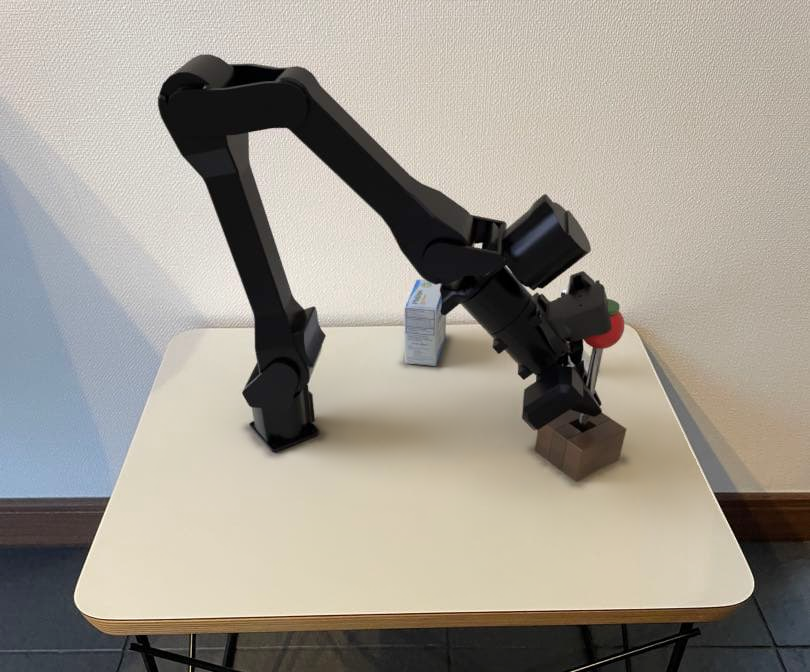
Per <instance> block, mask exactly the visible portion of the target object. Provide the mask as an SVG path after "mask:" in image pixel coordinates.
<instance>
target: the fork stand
mask: <svg viewBox="0 0 810 672" xmlns="http://www.w3.org/2000/svg"><path fill="white" fill-rule="evenodd" d="M579 415H580V413H579V412H576V411H573V410H569V411H567V412H565V413H564V414H562V415H561V416H559V417H558V418H556V419H555V420H553V421H551V422H550V423H548V424H547V425H545V426H544V427H542V428H540V429H539V430H537V432H536V440H535V445H534V452H536V453H537V454H538V455H540V456H541V457H542V458H544V459H545V460H546V461H548V462H549V463H550V464H552V466H554V467H555V468H557V469H558V470H560V471H561V472H562V473H563V474H565V475H566V476H567V477H568V478H570V479H571V480H573V481H574V482H576V483H577V482H578V481H580V480H582V479H584V478H586V477H588V476H590V475H592V474H595V472H598V471H600V470H602V469H604V468H606V467H607V466H609V465H611V464H613V463H615V462H618V461H619V460H620V457H621V453H622V449H623V445H624V443H625V442H624V441H625V437H626V434H627V428H626V427H624V426H623V425H621V424H620V423H619V422H617V421H616V420H614V418H613V419H612V418H611V417H610V416H608V415H607V414H605V413H603V412H602V413H601V414H599V415H597V416H596V417H592V416H589V421H588V426H587V430H586V431H585V432H583V433H582V432H581V431H579V430H578V429H577V426H578V420H579Z"/></svg>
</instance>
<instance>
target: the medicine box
mask: <svg viewBox="0 0 810 672" xmlns="http://www.w3.org/2000/svg"><path fill="white" fill-rule="evenodd" d="M440 286H441V284H437V285H435V284H432V283H430V282H428V281H426V280H425V279H416V280H415V282H414V285H413V288H412V290H411V292H410V294H409V296H408V299H407V301H406V303H405V306H404V307H403V308H404V311H403V315H404V316H403V317H404V318H403V323H404V325H403V326H404V360H405V361H404V362H405V363H406V364H410V365H419V366H429V367H430V366H431V367H436V366H437V365H438V362H439V359H440V355H441V352H442V349H443V346H444V343H445V340H446V333H447V332H446V331H447V315H442V314H441V313H440V310H441V293H440Z"/></svg>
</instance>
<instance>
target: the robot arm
mask: <svg viewBox="0 0 810 672" xmlns="http://www.w3.org/2000/svg"><path fill="white" fill-rule="evenodd" d="M157 108H158V112H159V116H160V118H161V121H162V123H163V125H164V126H165V128H166V131H167V132H168V133H169V135H170V137H171V139H172V142H174V144H175V146H176V149H177V150H178V152H179V155H181V156H182V158H183V159H184V160H185V161H186V162H187V163H188V164H189V165H190V166H191V167H192V169H193V170H194V171H195V172H196V173H197V174H198V175H199V176H200V177H201V179H202V180H203V183H204V184H205V186H206V189H207V192H208V195H209V198H210V200H211V203H212V205H213V208H214V211H215V214H216V216H217V219H218V222H219V224H220V227H221V231H222V232H223V235H224V238H225V241H226V243H227V246H228V249H229V251H230V254H231V257H232V259H233V263H234V265H235V268H236V270H237V275H238V276H239V279H240V282H241V284H242V287H243V290H244V292H245V295H246V298H247V300H248V303H249V306H250V309H251V311H252V315H253V319H254V321H253V322H254V326H253V327H254V352H255V357H256V364H255V365H254V367H253V370H252V371H251V373H250V375H249V378H248V379H247V381H246V383H245V385H244V388H243V389H242V392H241V394H242V396H243V398H244V399H245V401H246V403H247V405H248V407H249V408H251V411H252V417H253V421H250V422H249V428H250V430H251V431H252V432H253V433H254V434H255V435H256V436H257V437H258V438H259V440H261V442H262V443H263V444H264V445H265V446H266V447H267V448H268V449H269V450H270V451H271V452H272V453H277V452H280V451H282V450H284V449H288V448H290V447H292V446H295V445H297V444H299V443H302V442H304V441H306V440H309V439H311V438H314V437H317V436H318V435H319V434H320V429H319V428H318V427H317V426H316V425H315V421H316V413H315V406H314V405H315V404H314V396H313V395H314V394H313V393H312V392H311V391H310V390H309V383H310V380H311V378H312V376H313V373H314V370H315V368H316V366H317V363H318V360H319V358H320V355H321V353H322V349H323V344H324V341H325V340H326V337H327V335H326V333H324V331H323V329H322V328H321V326H320V323H319V317H318V316H319V315H318V310H317V307H316V306H310V307H307V308H303V306H302V305H301V304H300V303H299V302H298V301H297V300H296V299H295V297H294V295H293V293H292V289H291V287H290V283H289V281H288V278H287V277H288V276H287V274H286V271H285V268H284V265H283V262H282V258H281V256H280V253H279V249H278V247H277V243H276V240H275V238H274V234H273V231H272V227H271V225H270V222H269V218H268V215H267V213H266V210H265V207H264V204H263V201H262V196H261V194H260V191H259V187H258V185H257V182H256V178H255V175H254V172H253V170H252V166H251V162H250V147H249V146H250V133H253V132H259V131H260V132H261V131H265V130H270V129H271V130H272V129H286V130H289V131H290V132H291V133H292V134H293V135H294V136H295V137H296V138H297V139H298V140H299V141H300V142H301V143H303V145H305V147H306V148H308V149H309V150H310V152H312V153H313V154H314V156H316V157H317V158H318V159H319V160H320V161H321V162H323V164H325V165H326V166H327V167H328V168H329V169H330V170H331V171H332V172H333V173H334V174H335V175H336V176H337V177H338V178H339V179H340V180H341V181H342V182H343V183H344V184H346V185H347V187H349V189H351V190H352V191H353V192H354V193H355V194H356V195H357V196H358V197H359V198H360V199H361V200H362V201H363V202H364V203H365V204H366V205H368V206H369V207H370V208H371V209H372V211H374V212H375V213H376V214H377V215H378V216H379V217H380V218H381V219H382V221H384V223H385V225H386V226H387V227H388V228H389V230H390V232H391V234H392V236H393V238H394V240H395V242H396V244H397V246H398V248H399V250H400V251H401V253H402V254H403V255H404V256H405V258H406V259H407V261H408V262H409V263H410V264H411V266H412V267H413V268H414V270H415V271H416V272H417V273H418V275H419V276H420V277H421V278H422V280H426V281H428V282H430V283H432V284H435V285H437V284H441V286H440V293H441V310H440V313H441V314H442V315H446V316H447V315H448V314H449V313H451V312H452V311H453V310H454V309H455V308H457V307H458V306H459V305H461V306H462V307H463V308H464V310H466V312H467V313H468V314H469V315H470V316H471V317H472V318H473V319H474V320H475V321H476V323H478V324H479V325H480V326H481V327H482V328H483V330H485V331H486V332H487V334H488V335H489V336H490V337H491V338H492V339H493V340H492V346H491V347H492V349H493V351H495V352H496V353H497V354H498V355H500V354H501V353H502V352H504V351H505V353H507V354H508V355H509V356H510V358H511V359H512V360H513V361H514V362H515V363H516V364H517V376H519V377H520V378H521V379H522V380H523V381H525V380H526V379H528V378H530V376H532V375H534V376H535V381H534V382H533V383H531V384H530V385H528V386H527V387H525V388H524V389H523V397H522V408H521V420H523V421H524V422H525V424H527V425H528V426H529V428H530V429H532V430H533V431H538V430H539V429H540V428H542V427H544V426H545V425H547V424H548V423H550V422H551V421H553V420H555V419H556V418H558V417H559V416H561V415H562V414H564V413H565V412H567V411H569V410H573V411H576V412H579V413H583V414H586V415H589V416H592V417H596V416H597V415H599V414H601V413H603V409H602V408H601V406H602V401H601V399H600V396H599V395H598V392H597V390H596V389H595V392H594V396H593V394H592V393H591V391H590V390H589V388H588V387H587V385H586V379H587V374H588V372H586V369H585V367H584V360H583V359H582V355H583V350H584V351H585V349H584V338H587V337H590V336H594V335H603V334H605V333H607V332H609V331H610V330H611V329H612V325H611V318H610V315H609V312H608V302H607V299H608V297H607V293H606V288H605V286H604V284H602V283H601V282H600V280H599V279H597V280H594V279H593V278H592V277H591V276H590V275H588V274H587V272H585V271H584V270H582V271H578V272H576V273H573V274H570V276H569V280H568V293H567V294H566V295H565V292H562V293H561V292H560V294H561V295H560V296H559V297H557V298H555V299H554V300H551V301H550V300H549V299H548V298H547V297H546V295H544V293H539V292H538V291H537V292H535V290H537V289H544V288H546V287H547V286H548V285H550V284H551V283H552V282H554V281H555V280H556V279H558V277H560V276H561V275H562V274H564V273H565V272H566V271H568V270H569V269H570V268H571V267H573V266H574V265H575V264H576V263H578V262H579V261H580V260H582V259H583V258H585V257H586V256H587V255H588V254H590V253H591V250H592V248H591V244H590V241H589V239H588V238H589V237H588V236H587V234H586V232H585V231H584V229H583V227H582V226H581V225H580V223H579V221H578V220H577V219H576V217H575V216H574V214H573V213H572V212H571V211H570V210H569V209H567V210H566V209H565V208H564V207H563V206H562V205H561V204H559V203H558V202H555V201H553V200H552V199H551V198H550V196H549V195H548V194H547V193H545V194H542V195H541V196H539V198H537V199H536V201H534V202H533V203H532V204H531V206H530V207H529V208H528V210H526V211H525V212H524V213H523V214H522V215H521V216H520V217H519V218H517V219H516V220H515V221H514V222H512V224H510V225H509V226H508V224H507V222H506V221H505V220H499V219H494V218H489V217H484V216H479V215H474V214H471V213H470V212H469V211H468V210H467V209H466V208H465V207H464V206H461V205H460V204H459V203H457V202H456V201H455V200H453V199H452V198H450V197H449V196H448V195H446V194H445V193H443V192H442V191H440V190H438V189H437V188H436V189H435V188H434V187H431V186H428V185H426V184H424V183H422V182H420V181H419V180H417V179H416V178H414V177H413V176H412V175H411V174H410V173H408V171H407V170H406V169H405V168H404V167H403V166H401V165H400V163H398V162H397V160H396V159H395V158H394V157H392V155H391V154H389V152H388V151H387V150H385V148H384V147H382V145H381V144H379V143H378V142H377V141H376V139H374V138H373V137H372V135H371V134H370V133H369V132H368V131H367V130H365V128H364V127H362V126H361V124H360V123H358V122H357V121H356V120H355V119H354V117H352V115H350V114H349V113H348V111H347V110H346V109H345V108H343V107H342V105H340V103H339V102H338V101H336V99H335V98H333V97H332V95H331V94H329V93H328V92H327V91H326V90H325V89H324V88H323V86H322V85H321V84H320V83H319V81H318V79H317V78H316V76H315V75H314V74H313V72H311V71H310V70H308V69H307V68H305V67H303V66H298V65H295V66H288V67H287V66H286V67H278V66H272V65H271V66H270V65H266V64H265V65H263V64H258V63H228V62H227V61H225V60H224V59H222V58H221V57H219V56H216V55H213V54H210V53H207V54H205V53H203V54H198V55H196V56H194V57H192V58H190V60H188V61H187V62H185V63H184V64H183V65H182V66H181V67H179V68H178V69H176V70H175V71H173V73H172V74H170V75H169V76H168V77H167V78H166V79H165V80H164V82H163V83H162V86H161V88H160V90H159V94H158V96H157ZM507 226H508V227H507ZM476 244H481V247H477V246H476ZM475 246H476V247H475ZM527 288H528V289H530V290H532V291H533V292H535V293H533V295H532V294H531V292H529V290H528V289H527Z"/></svg>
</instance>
